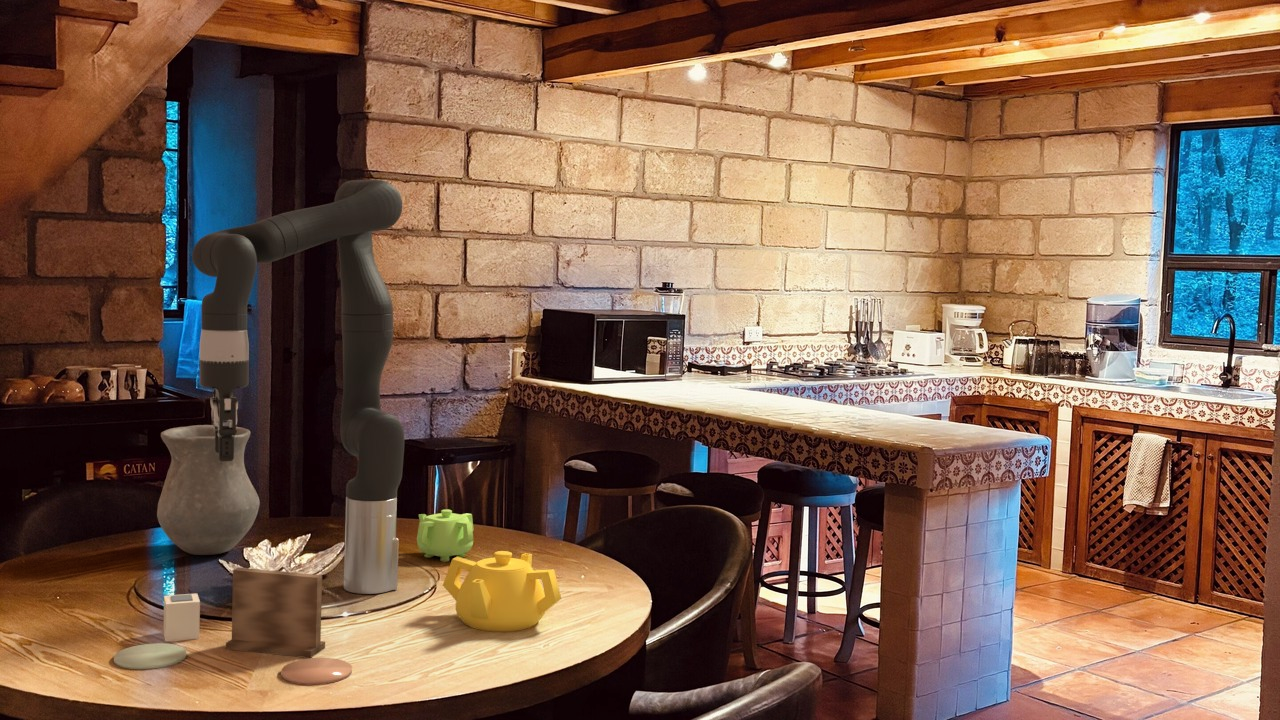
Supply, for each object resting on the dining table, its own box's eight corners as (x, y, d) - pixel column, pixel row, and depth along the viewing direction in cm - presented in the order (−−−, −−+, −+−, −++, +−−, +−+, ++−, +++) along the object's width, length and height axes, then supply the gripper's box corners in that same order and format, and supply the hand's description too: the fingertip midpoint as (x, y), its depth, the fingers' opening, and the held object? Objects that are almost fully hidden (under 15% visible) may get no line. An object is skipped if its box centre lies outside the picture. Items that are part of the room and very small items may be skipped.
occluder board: (225, 648, 182) (227, 572, 181) (242, 639, 187) (243, 564, 186) (310, 657, 180) (312, 580, 179) (325, 647, 184) (326, 572, 184)
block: (196, 629, 191) (197, 592, 190) (199, 638, 186) (200, 600, 186) (163, 632, 189) (164, 594, 188) (165, 641, 184) (165, 603, 184)
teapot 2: (563, 630, 199) (566, 560, 198) (469, 640, 192) (471, 567, 191) (528, 603, 214) (530, 538, 213) (439, 611, 207) (441, 544, 206)
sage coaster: (183, 644, 183) (183, 640, 183) (188, 665, 174) (188, 661, 174) (113, 650, 179) (113, 647, 179) (114, 672, 170) (114, 668, 170)
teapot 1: (472, 549, 252) (474, 504, 252) (474, 563, 241) (475, 515, 240) (416, 549, 250) (418, 504, 250) (415, 563, 239) (417, 515, 238)
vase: (237, 565, 231) (240, 439, 229) (141, 561, 231) (142, 434, 229) (270, 542, 251) (273, 426, 249) (181, 538, 251) (183, 422, 249)
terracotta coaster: (344, 658, 180) (344, 654, 180) (358, 680, 171) (358, 676, 171) (276, 665, 176) (276, 661, 175) (287, 688, 167) (287, 683, 166)
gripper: (253, 361, 186) (252, 463, 187) (244, 353, 199) (244, 448, 200) (202, 361, 183) (202, 465, 184) (197, 353, 196) (197, 450, 197)
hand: (224, 456), depth 192 cm, fingers open, 8 cm apart
